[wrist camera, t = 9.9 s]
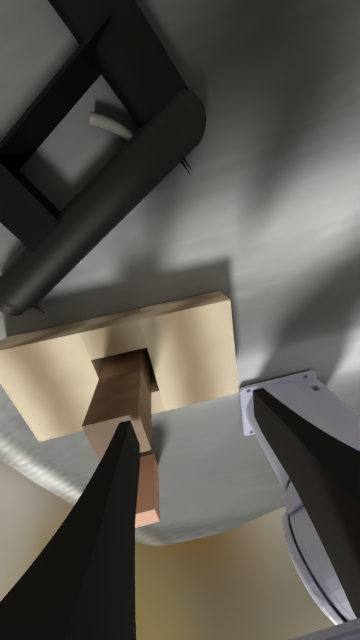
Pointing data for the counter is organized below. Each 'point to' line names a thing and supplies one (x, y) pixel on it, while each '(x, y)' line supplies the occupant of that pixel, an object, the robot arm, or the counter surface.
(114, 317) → the socket block
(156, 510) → the salmon brown flat block
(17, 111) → the counter surface
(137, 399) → the walnut peg
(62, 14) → the door handle
